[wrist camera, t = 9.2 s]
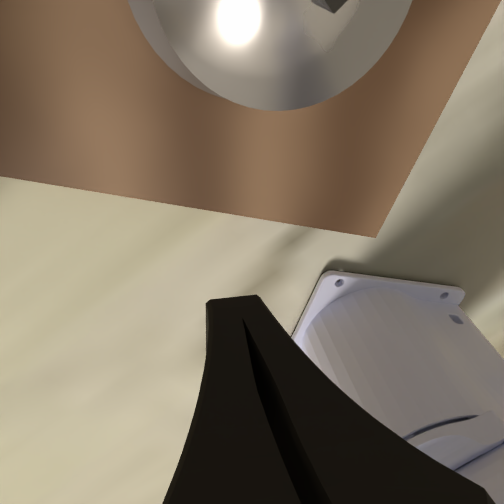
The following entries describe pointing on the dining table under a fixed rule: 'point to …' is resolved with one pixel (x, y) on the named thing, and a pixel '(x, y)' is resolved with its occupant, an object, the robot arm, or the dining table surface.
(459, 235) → the dining table surface
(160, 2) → the steel cap
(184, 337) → the dining table surface
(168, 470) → the dining table surface
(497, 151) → the dining table surface
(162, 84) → the post base
